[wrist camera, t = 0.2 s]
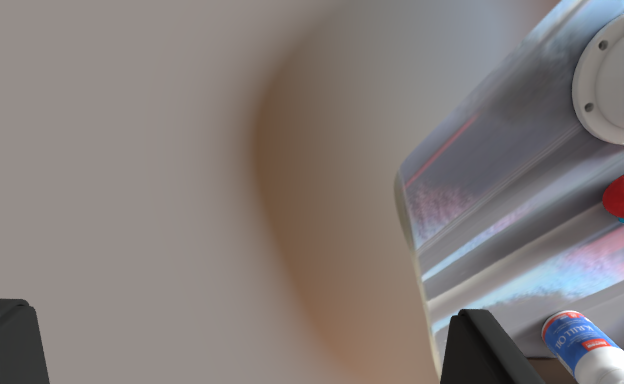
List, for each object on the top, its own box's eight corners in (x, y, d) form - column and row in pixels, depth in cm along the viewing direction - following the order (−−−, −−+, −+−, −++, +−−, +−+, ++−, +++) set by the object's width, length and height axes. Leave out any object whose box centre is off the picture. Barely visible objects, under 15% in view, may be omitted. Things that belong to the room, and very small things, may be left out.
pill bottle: (570, 300, 44) (642, 360, 35) (595, 329, 45) (670, 396, 36) (530, 328, 45) (588, 394, 36) (555, 356, 46) (618, 427, 37)
